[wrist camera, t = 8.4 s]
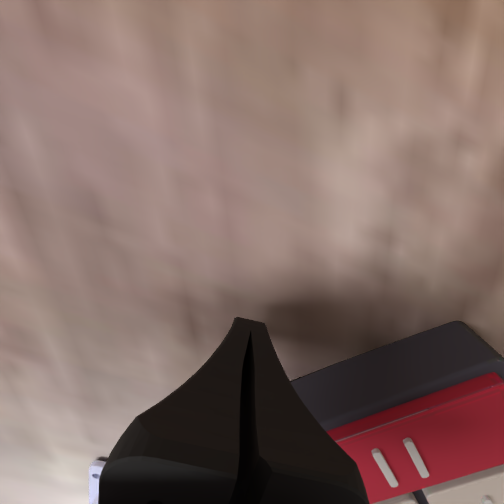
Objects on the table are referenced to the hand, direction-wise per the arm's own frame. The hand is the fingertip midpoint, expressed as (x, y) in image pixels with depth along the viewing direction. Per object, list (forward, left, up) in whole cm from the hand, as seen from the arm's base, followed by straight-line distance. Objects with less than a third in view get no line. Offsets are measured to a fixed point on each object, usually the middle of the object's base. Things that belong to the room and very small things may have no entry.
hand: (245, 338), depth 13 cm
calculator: (-6, -8, -2) cm, 10 cm away
